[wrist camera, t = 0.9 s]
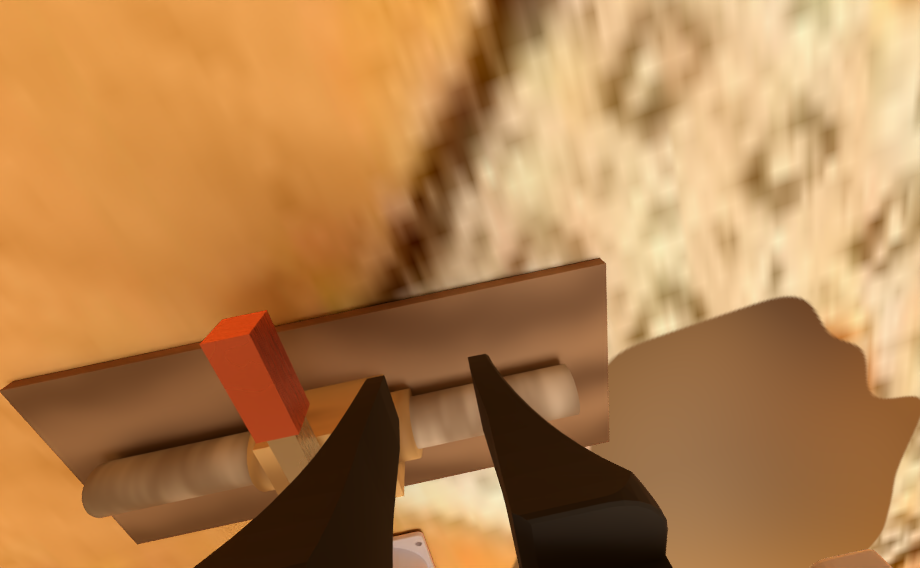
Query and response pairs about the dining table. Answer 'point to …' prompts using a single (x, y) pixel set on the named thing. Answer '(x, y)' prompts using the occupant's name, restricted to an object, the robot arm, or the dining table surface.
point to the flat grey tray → (326, 398)
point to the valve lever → (263, 387)
